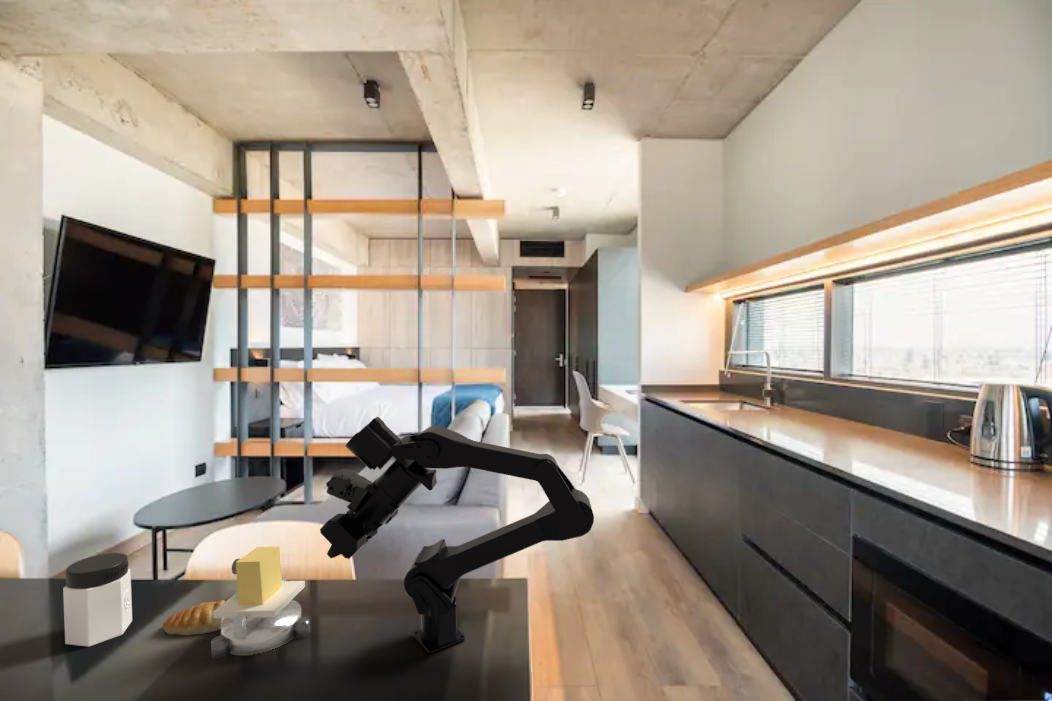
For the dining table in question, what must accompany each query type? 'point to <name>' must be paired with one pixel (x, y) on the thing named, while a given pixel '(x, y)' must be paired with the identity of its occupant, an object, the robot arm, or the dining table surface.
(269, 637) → the tribrach base
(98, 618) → the jar
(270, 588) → the instrument
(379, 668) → the dining table surface
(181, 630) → the pastry
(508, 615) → the dining table surface
